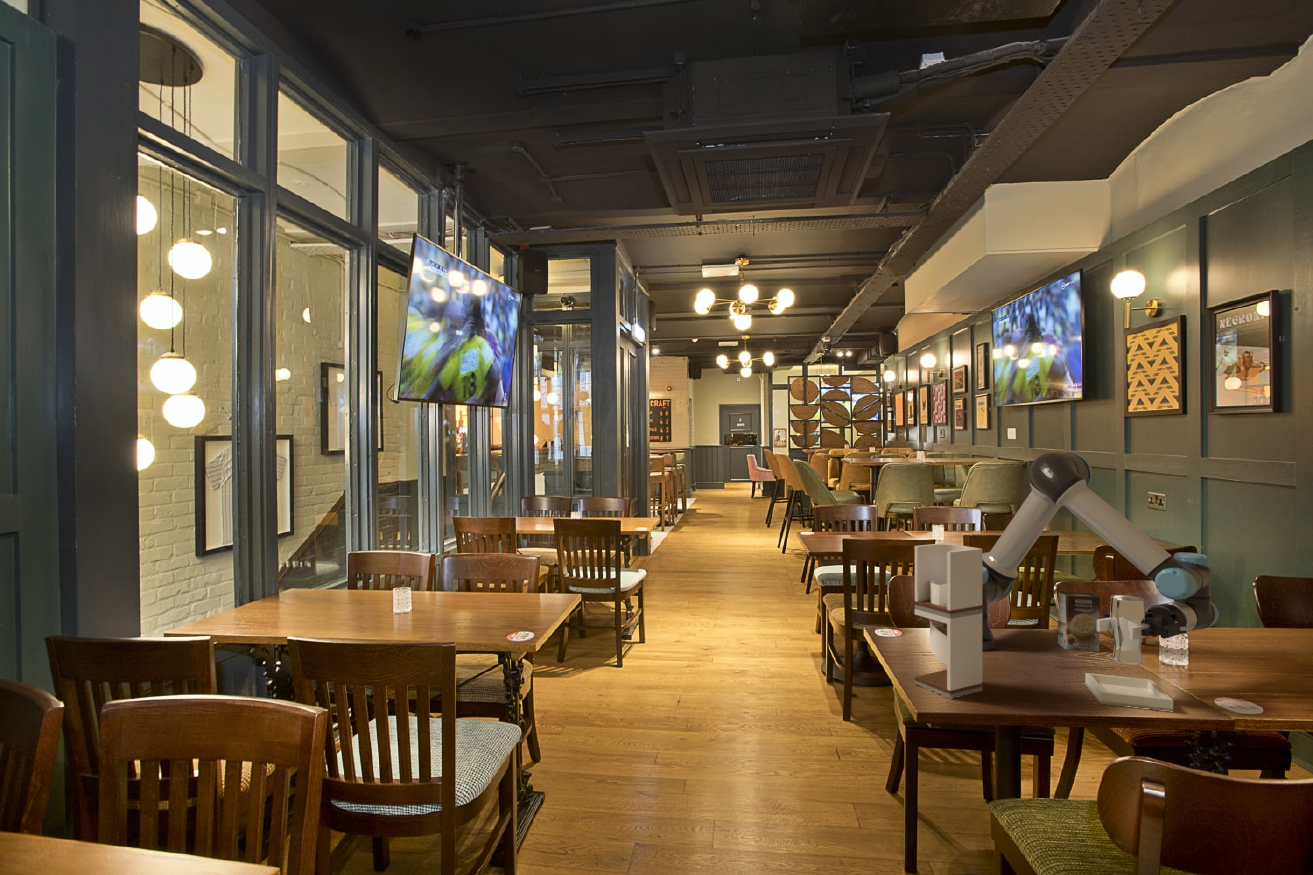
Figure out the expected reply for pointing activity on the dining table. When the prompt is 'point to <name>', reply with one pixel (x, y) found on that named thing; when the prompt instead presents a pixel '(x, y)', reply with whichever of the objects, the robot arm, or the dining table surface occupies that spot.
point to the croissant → (1145, 640)
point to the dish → (1128, 692)
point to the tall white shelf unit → (951, 615)
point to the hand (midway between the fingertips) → (1114, 629)
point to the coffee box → (1078, 621)
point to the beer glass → (1126, 627)
